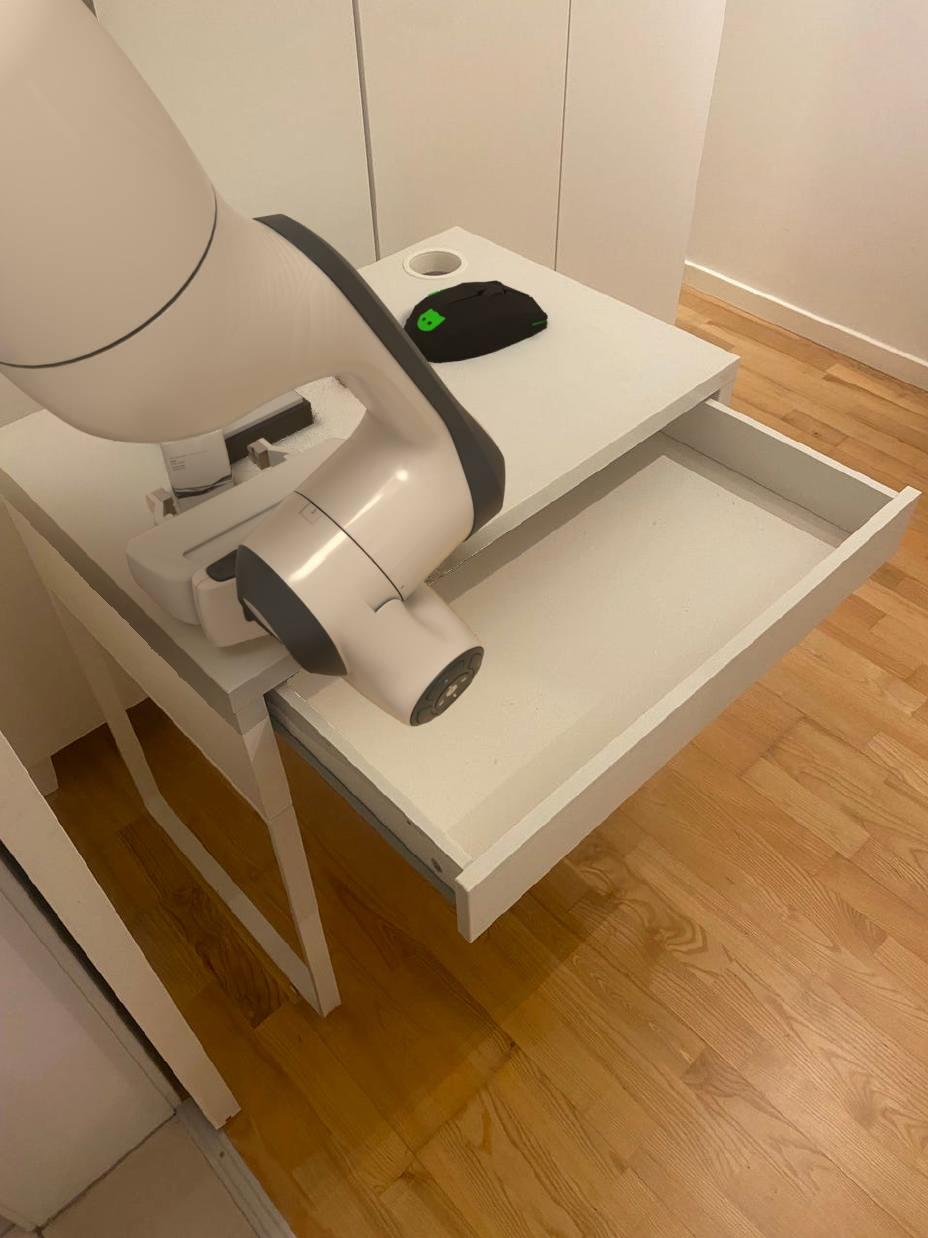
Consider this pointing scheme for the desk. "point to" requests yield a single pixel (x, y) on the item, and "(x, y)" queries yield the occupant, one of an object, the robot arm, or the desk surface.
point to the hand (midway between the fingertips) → (206, 472)
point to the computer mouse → (473, 321)
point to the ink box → (197, 469)
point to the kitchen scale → (267, 424)
